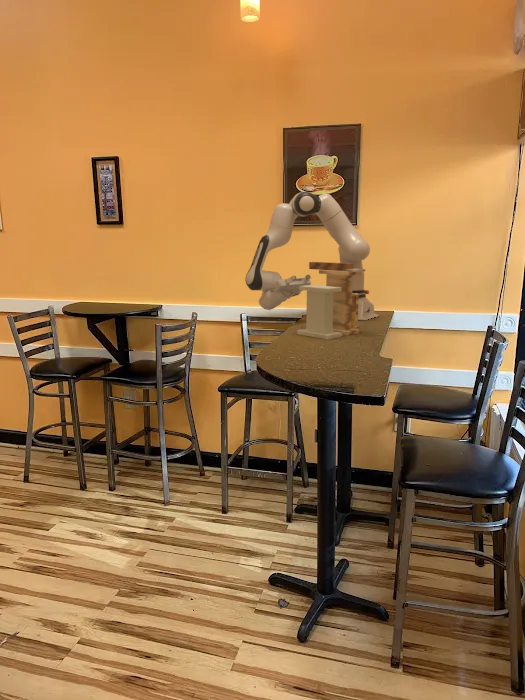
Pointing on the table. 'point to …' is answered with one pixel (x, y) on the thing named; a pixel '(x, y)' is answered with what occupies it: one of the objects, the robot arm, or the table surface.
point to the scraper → (334, 266)
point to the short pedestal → (319, 312)
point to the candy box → (354, 310)
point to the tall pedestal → (341, 300)
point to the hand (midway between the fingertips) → (302, 276)
